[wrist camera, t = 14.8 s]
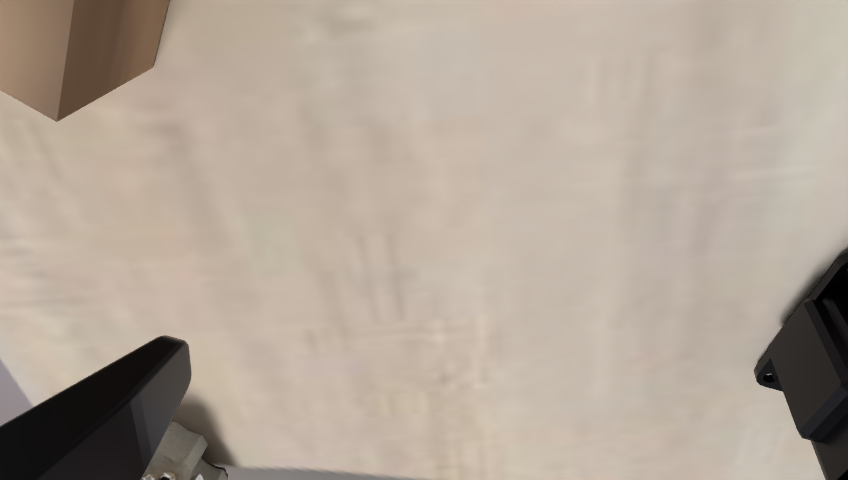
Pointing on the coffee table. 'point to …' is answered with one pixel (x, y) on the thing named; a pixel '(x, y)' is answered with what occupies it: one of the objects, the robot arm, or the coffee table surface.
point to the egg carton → (182, 458)
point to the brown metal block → (75, 49)
